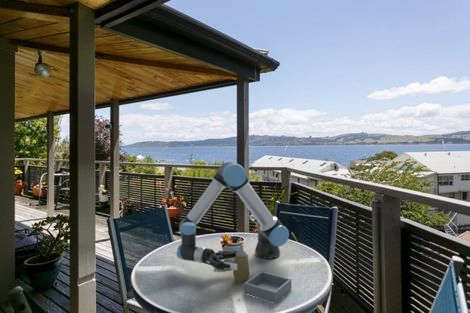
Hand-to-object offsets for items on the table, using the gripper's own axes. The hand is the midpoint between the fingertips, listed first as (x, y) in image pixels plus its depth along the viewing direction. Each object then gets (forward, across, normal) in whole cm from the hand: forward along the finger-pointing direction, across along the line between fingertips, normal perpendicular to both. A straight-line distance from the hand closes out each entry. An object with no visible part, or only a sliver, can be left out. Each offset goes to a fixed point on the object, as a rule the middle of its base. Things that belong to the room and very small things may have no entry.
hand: (242, 261), depth 151 cm
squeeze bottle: (-1, 0, -10) cm, 10 cm away
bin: (+14, +5, -10) cm, 18 cm away
